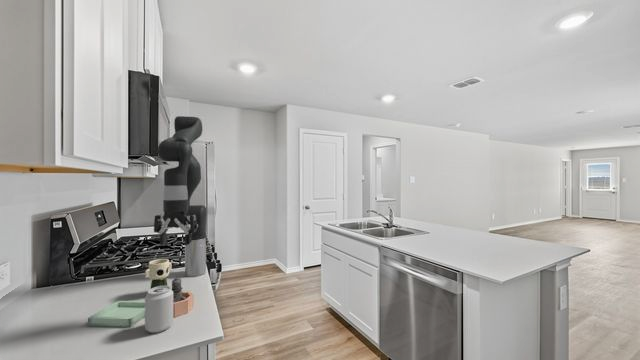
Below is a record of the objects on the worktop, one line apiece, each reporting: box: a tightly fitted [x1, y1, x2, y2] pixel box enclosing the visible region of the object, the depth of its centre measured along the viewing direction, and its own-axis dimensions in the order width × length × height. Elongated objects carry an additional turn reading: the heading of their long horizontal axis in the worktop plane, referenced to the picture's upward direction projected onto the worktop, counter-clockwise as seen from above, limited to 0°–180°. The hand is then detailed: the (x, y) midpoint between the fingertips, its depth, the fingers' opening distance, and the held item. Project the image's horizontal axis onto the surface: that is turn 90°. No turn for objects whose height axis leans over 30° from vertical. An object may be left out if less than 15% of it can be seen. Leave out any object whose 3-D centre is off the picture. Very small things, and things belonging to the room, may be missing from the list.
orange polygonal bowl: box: [173, 290, 195, 319], centre depth 94 cm, size 10×10×4 cm
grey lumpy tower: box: [171, 275, 186, 303], centre depth 94 cm, size 6×6×12 cm
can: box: [144, 285, 174, 334], centre depth 82 cm, size 8×8×12 cm
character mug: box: [144, 258, 173, 290], centre depth 107 cm, size 11×7×13 cm, turn 157°
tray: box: [87, 300, 145, 328], centre depth 89 cm, size 12×14×2 cm
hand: (175, 244), depth 94 cm, fingers open, 8 cm apart
